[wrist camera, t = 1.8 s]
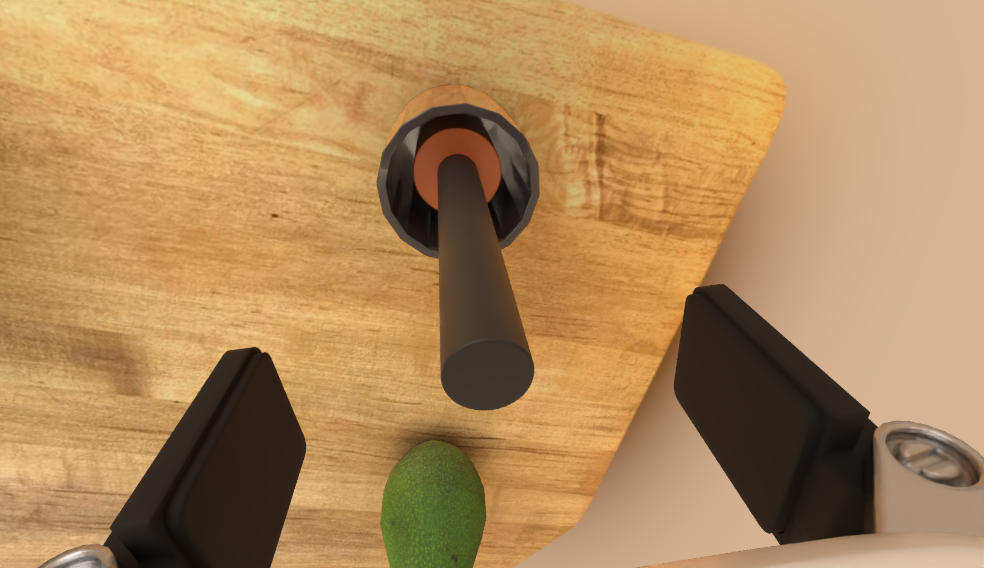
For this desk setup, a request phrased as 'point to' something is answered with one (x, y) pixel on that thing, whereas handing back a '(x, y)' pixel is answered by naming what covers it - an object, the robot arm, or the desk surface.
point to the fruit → (433, 509)
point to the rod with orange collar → (471, 267)
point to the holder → (397, 160)
